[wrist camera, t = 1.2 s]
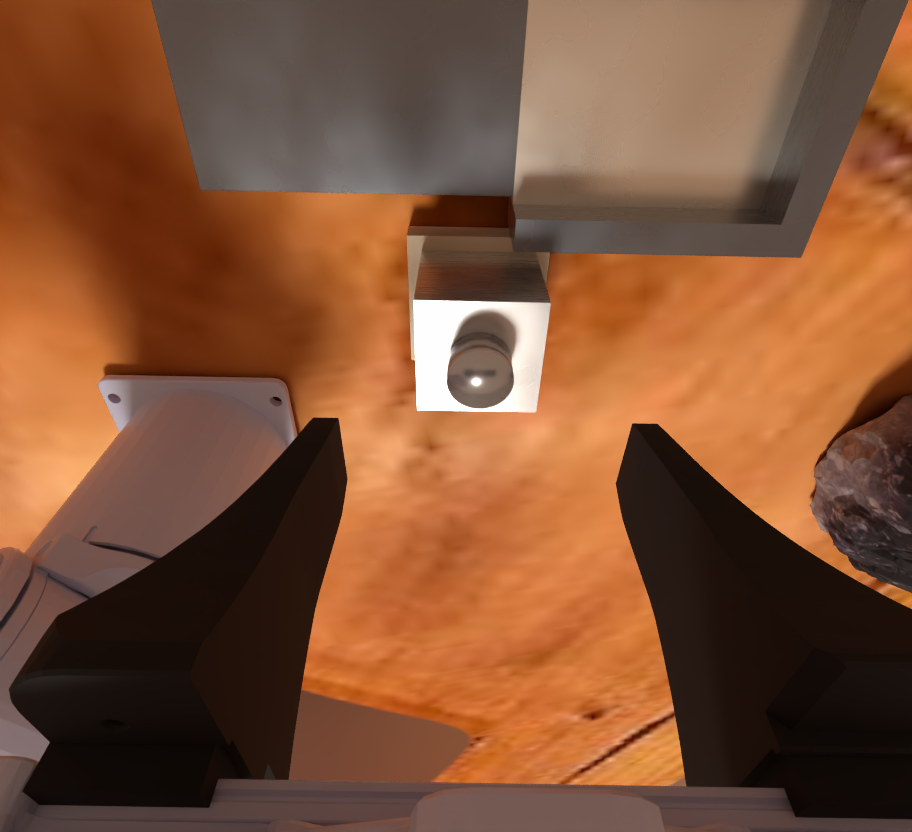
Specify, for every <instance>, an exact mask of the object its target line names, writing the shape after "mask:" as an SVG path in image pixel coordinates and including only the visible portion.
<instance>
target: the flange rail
mask: <svg viewBox="0 0 912 832" xmlns="http://www.w3.org/2000/svg"><path fill="white" fill-rule="evenodd" d="M151 1H152V5H153V9H154V13H155V17H156V20H157V24H158V28H159V32H160V36H161V40H162V44H163V48H164V51H165V55H166V59H167V63H168V67H169V71H170V75H171V79H172V82H173V86H174V90H175V94H176V98H177V102H178V106H179V109H180V113H181V117H182V121H183V125H184V129H185V133H186V137H187V140H188V144H189V148H190V152H191V156H192V160H193V164H194V168H195V171H196V175H197V179H198V183H199V187H200V190H227V191H276V192H324V193H373V194H422V195H471V196H509V202H508V216H507V223H508V228H509V232H510V237H511V242H512V247H513V252H549V253H598V254H648V255H698V256H748V257H797V258H801V256H802V254H803V252H804V249H805V247H806V245H807V242H808V240H809V237H810V235H811V233H812V230H813V228H814V225H815V223H816V221H817V218H818V216H819V213H820V211H821V209H822V206H823V204H824V201H825V199H826V197H827V194H828V192H829V189H830V187H831V185H832V182H833V180H834V177H835V175H836V173H837V170H838V168H839V165H840V163H841V161H842V158H843V156H844V153H845V151H846V149H847V146H848V144H849V142H850V139H851V137H852V134H853V132H854V130H855V127H856V125H857V122H858V120H859V118H860V115H861V113H862V110H863V108H864V106H865V103H866V101H867V98H868V96H869V94H870V91H871V89H872V86H873V84H874V82H875V79H876V77H877V74H878V72H879V70H880V67H881V65H882V62H883V60H884V58H885V55H886V53H887V51H888V48H889V46H890V43H891V41H892V39H893V36H894V34H895V31H896V29H897V27H898V24H899V22H900V19H901V17H902V15H903V12H904V10H905V7H906V5H907V3H908V0H151Z"/></svg>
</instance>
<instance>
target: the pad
mask: <svg viewBox="0 0 912 832" xmlns="http://www.w3.org/2000/svg"><path fill="white" fill-rule="evenodd" d="M422 250H447V251H496V252H513V247H512V242H511V237H510V232H509V228H489V227H440V226H409V228H408V233H407V253H408V279H409V305H410V331H411V358H412V360H416V359H415V329H414V294H415V288H416V282H417V276H418V270H419V263H420V257H421V251H422ZM536 254H537V258H538V261H539V264H540V268H541V271H542V275H543V278H544V281H545V285H546V282H547V274H548V266H549V258H550V253H549V252H536Z"/></svg>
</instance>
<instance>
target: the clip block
mask: <svg viewBox="0 0 912 832" xmlns="http://www.w3.org/2000/svg"><path fill="white" fill-rule="evenodd" d="M550 305H551V302H550V298H549V295H548V292H547V288H546V285H545V281H544V278H543V275H542V271H541V268H540V264H539V261H538V258H537V254H536V252H496V251H447V250H422V251H421V257H420V263H419V270H418V276H417V282H416V288H415V294H414V329H415V359H416V389H417V410H439V411H491V412H536V409H537V402H538V395H539V387H540V380H541V372H542V365H543V357H544V350H545V343H546V335H547V328H548V320H549V313H550Z"/></svg>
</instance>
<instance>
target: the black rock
mask: <svg viewBox="0 0 912 832" xmlns="http://www.w3.org/2000/svg"><path fill="white" fill-rule="evenodd" d="M814 477H815V479H816V485H817V488H816V492H815V496H814V498H813V501H812V503H811V505H810V507H811V509H812V512H813V515H814V516H815V517H816V519H817V522H818V525H819V527H820V529H821V530H823V531H825V532H827V533H829V535H830V536H831V538H832V540H833V543H834V545H835V546H836V547H837V548H838V550H839V551H840V552H841V553H843V554H844V555H847V556H848V558H849V561H850V562H851V563H852V565H853V566H854V568H855V569H857V570H859V571H863V572H866V573H867V574H868V575H870V576H872V577H875V578H877V580H879V581H880V582H885V583H888V584H891V585H894V586H896V587H899V588H901V589H904V590H906V591H908V592H911V593H912V395H909V396H903V397H902V398H901V399H900V400H899V401H897V402H896V403H895V404H894V406H893V407H892V408H891V409H890V410H889V411H888V412H886V413H885V414H883V415H881V416H879V417H877V418H875V419H873V420H871V421H869V422H867V423H866V424H864V425H861V426H859V427H857V428H855V429H852V430H850V431H848V432H846V433H845V434H843V435H842V436H840V437H839V438H838V439H836V441H835V442H834V443H833V444H832V446H831V447H830V448H829V449H828V451H827V454H826V456H825V457H824V458H823V459H822V460H821V461H820V462H819V464H818V465H817V466H816V468H815V474H814Z"/></svg>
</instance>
